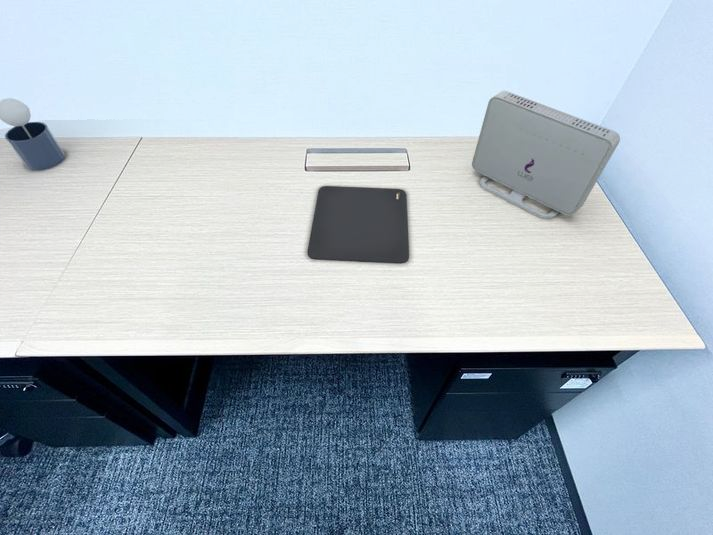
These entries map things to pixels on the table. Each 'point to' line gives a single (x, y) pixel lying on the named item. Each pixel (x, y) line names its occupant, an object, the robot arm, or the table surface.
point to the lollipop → (15, 113)
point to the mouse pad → (360, 225)
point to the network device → (541, 154)
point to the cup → (35, 146)
